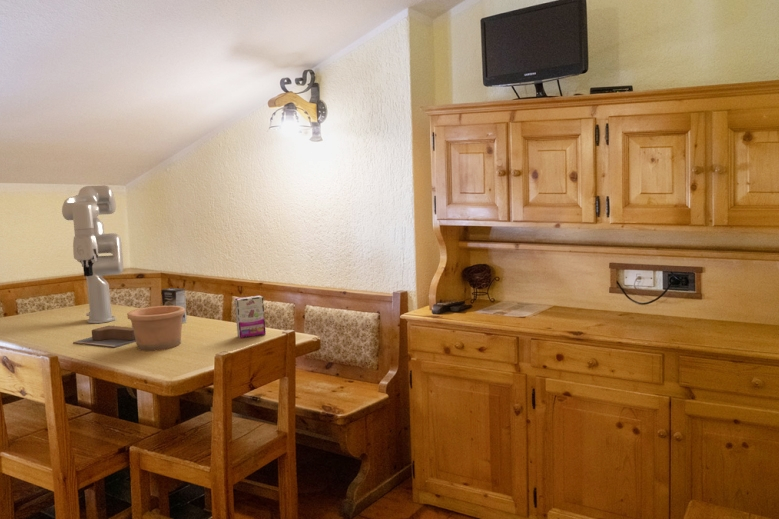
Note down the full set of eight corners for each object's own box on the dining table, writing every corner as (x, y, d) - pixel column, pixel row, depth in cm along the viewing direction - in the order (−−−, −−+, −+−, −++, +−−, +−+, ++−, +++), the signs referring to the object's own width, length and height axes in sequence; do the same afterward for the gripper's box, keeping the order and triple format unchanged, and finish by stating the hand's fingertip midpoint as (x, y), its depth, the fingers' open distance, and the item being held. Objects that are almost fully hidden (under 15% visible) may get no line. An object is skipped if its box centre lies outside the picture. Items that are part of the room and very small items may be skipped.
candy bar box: (262, 332, 275) (260, 294, 273) (266, 334, 271) (263, 296, 269) (236, 336, 270) (234, 297, 268) (239, 338, 266) (237, 299, 264)
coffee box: (163, 323, 301) (160, 289, 299) (173, 320, 307) (171, 287, 305) (177, 324, 297) (174, 290, 295) (187, 321, 303) (185, 288, 301)
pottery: (131, 355, 244) (128, 318, 243) (129, 343, 264) (126, 309, 263) (190, 348, 253) (187, 312, 251) (184, 336, 273) (181, 303, 271)
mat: (73, 343, 268) (73, 341, 267) (108, 333, 284) (108, 332, 284) (114, 348, 257) (114, 346, 257) (148, 337, 273) (148, 336, 273)
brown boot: (92, 340, 269) (123, 343, 262) (91, 329, 269) (122, 332, 261) (109, 335, 277) (140, 338, 270) (108, 325, 277) (139, 327, 269)
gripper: (64, 233, 269) (68, 276, 272) (89, 234, 263) (93, 278, 266) (79, 231, 276) (83, 273, 279) (104, 232, 270) (108, 275, 272)
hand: (88, 275), depth 272 cm, fingers closed
